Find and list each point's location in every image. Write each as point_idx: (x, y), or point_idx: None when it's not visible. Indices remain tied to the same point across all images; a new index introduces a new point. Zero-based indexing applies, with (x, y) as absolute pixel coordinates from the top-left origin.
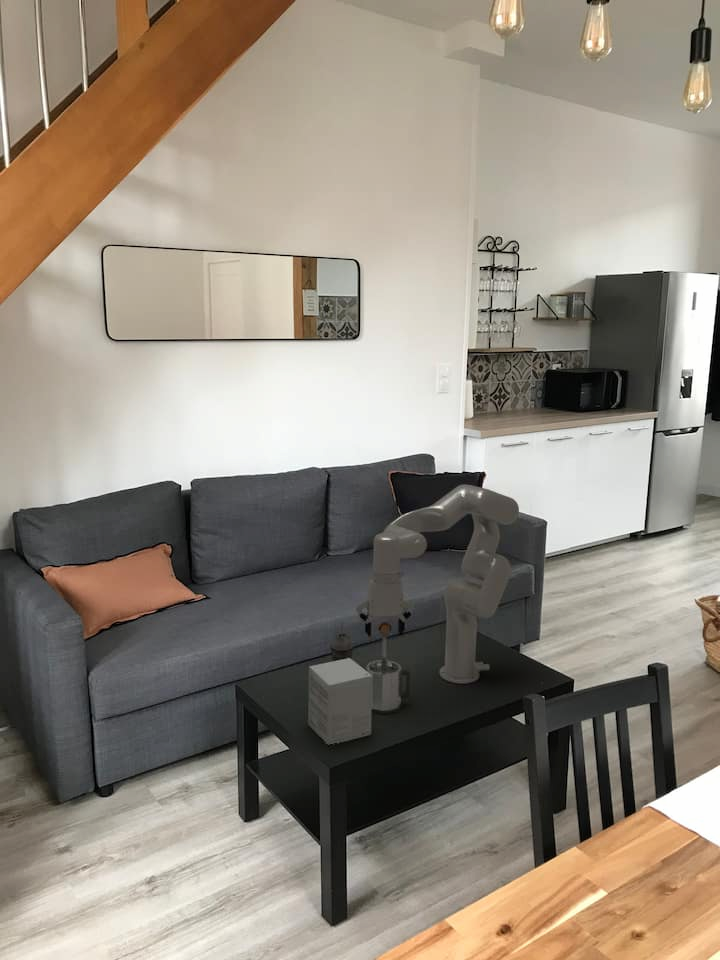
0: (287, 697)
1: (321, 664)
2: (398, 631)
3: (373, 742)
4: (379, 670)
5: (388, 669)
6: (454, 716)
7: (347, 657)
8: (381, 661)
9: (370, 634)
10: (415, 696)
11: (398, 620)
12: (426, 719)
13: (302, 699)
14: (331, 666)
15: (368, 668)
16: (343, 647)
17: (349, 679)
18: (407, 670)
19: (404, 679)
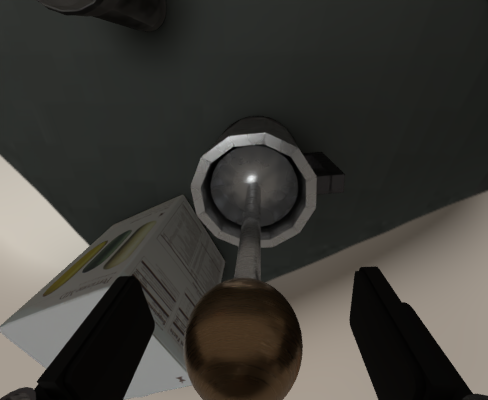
0: (32, 111)
1: (29, 321)
2: (355, 286)
3: (228, 279)
4: (240, 174)
5: (272, 168)
6: (403, 209)
7: (115, 6)
8: (249, 144)
9: (147, 339)
10: (346, 111)
11: (407, 370)
12: (338, 218)
13: (69, 123)
14: (66, 337)
15: (199, 204)
16: (61, 2)
17: (138, 394)
18: (338, 179)
19: (321, 166)
